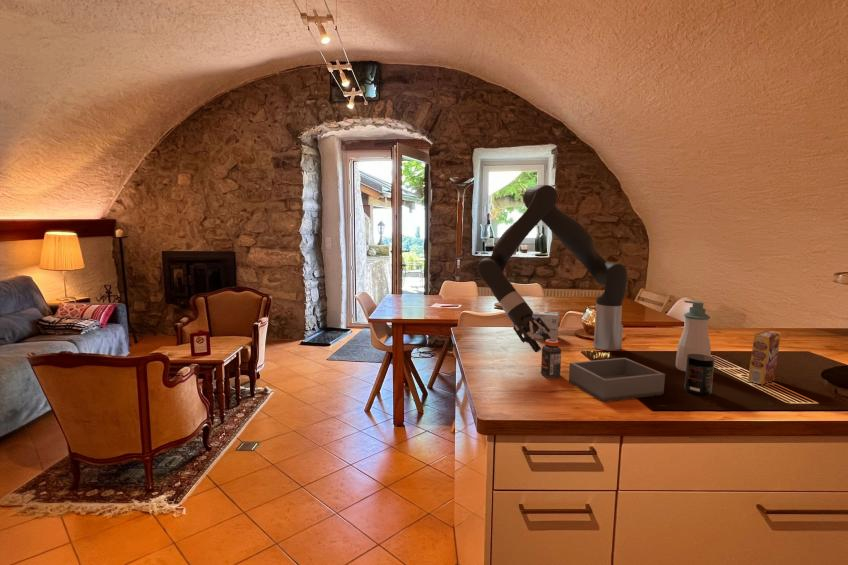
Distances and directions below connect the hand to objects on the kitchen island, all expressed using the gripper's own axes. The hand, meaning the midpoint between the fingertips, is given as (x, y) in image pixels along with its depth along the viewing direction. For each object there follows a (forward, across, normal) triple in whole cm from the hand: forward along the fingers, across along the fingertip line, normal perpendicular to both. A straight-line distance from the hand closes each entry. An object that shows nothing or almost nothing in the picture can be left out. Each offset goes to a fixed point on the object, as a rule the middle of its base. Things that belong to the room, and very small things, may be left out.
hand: (545, 348), depth 142 cm
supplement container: (+34, +17, -22) cm, 44 cm away
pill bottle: (+8, 0, +4) cm, 9 cm away
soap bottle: (+29, +38, -17) cm, 51 cm away
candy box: (+42, +41, -30) cm, 66 cm away
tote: (+21, +3, -9) cm, 23 cm away
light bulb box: (-10, +41, +22) cm, 48 cm away
